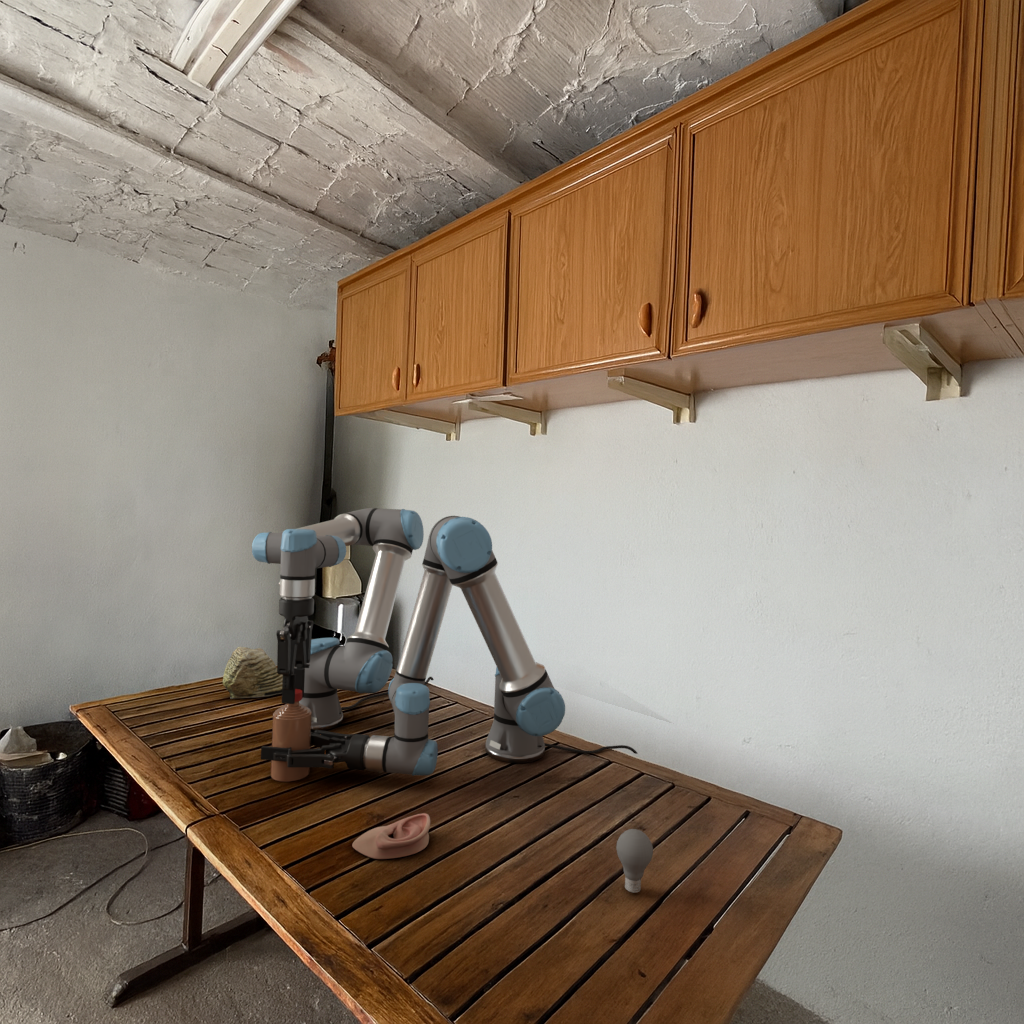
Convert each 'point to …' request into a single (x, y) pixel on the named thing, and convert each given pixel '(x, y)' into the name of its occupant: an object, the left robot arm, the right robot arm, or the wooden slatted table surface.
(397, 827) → the anatomical model
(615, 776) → the wooden slatted table surface
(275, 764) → the bottle
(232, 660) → the fossil
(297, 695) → the cap
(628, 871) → the light bulb
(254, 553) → the left robot arm
